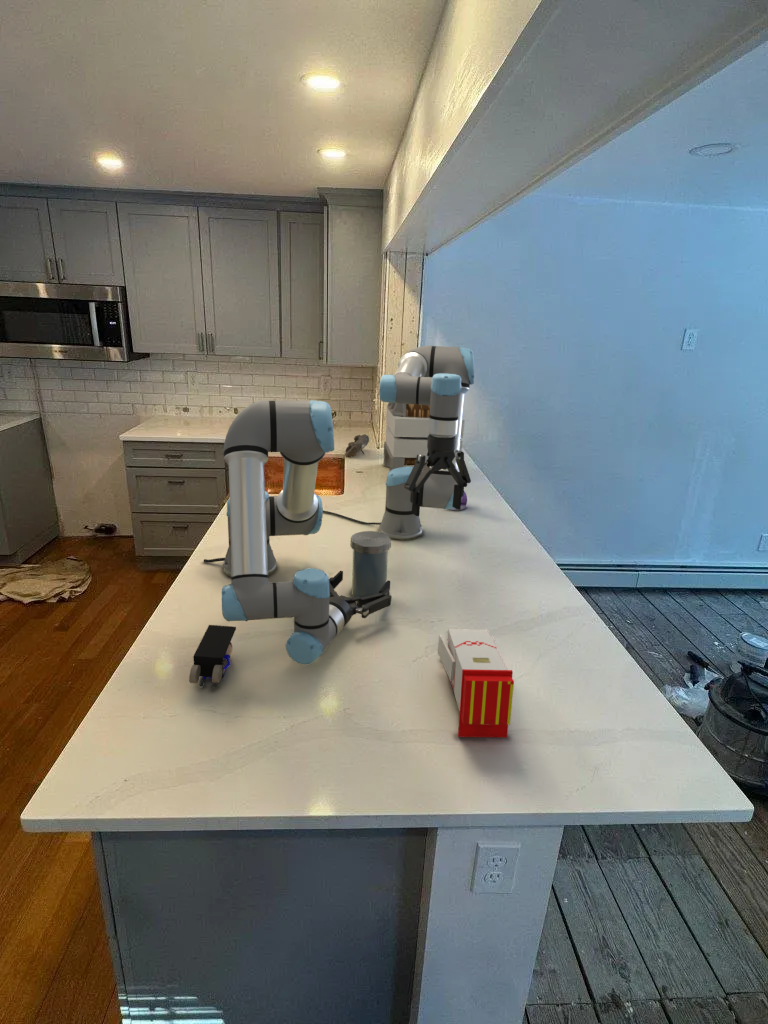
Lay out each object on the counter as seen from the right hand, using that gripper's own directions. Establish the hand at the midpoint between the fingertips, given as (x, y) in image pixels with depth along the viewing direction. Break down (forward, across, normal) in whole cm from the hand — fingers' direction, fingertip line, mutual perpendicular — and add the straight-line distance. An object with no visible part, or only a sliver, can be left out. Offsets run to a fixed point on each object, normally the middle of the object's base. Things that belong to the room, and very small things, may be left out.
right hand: (436, 511), depth 155 cm
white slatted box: (+22, -62, -101) cm, 121 cm away
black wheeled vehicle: (+23, +65, +14) cm, 70 cm away
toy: (+23, +20, +43) cm, 53 cm away
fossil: (+22, -51, -146) cm, 157 cm away
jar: (+23, +18, -4) cm, 30 cm away
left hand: (+17, +21, 0) cm, 27 cm away
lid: (+7, +18, -4) cm, 20 cm away
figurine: (+22, -49, -53) cm, 76 cm away
